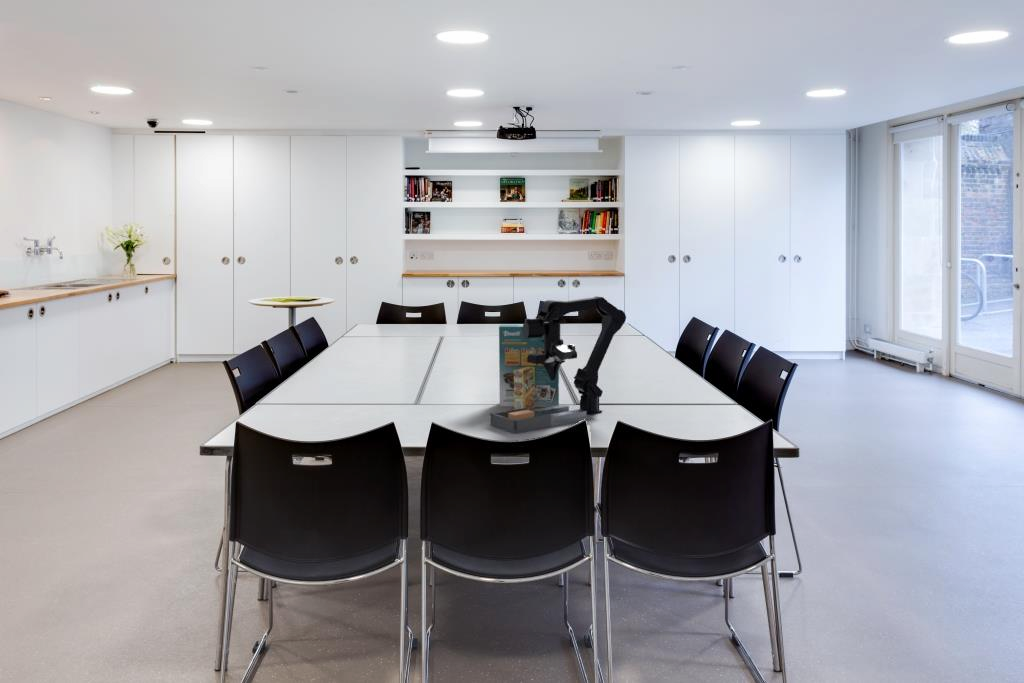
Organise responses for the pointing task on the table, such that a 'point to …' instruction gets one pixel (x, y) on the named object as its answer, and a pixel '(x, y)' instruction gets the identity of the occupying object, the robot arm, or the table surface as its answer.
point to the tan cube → (516, 415)
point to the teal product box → (515, 357)
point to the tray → (519, 422)
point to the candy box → (524, 388)
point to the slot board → (561, 414)
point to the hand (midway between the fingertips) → (552, 380)
